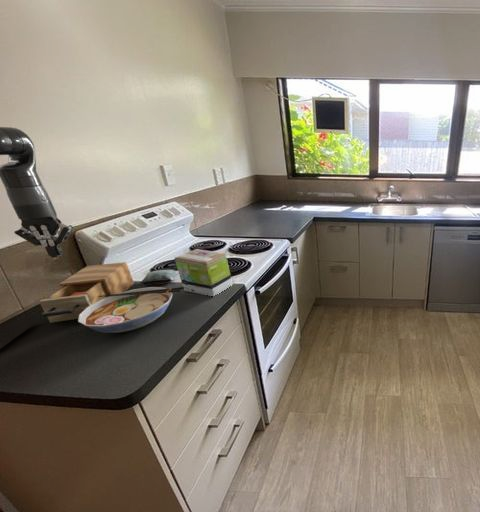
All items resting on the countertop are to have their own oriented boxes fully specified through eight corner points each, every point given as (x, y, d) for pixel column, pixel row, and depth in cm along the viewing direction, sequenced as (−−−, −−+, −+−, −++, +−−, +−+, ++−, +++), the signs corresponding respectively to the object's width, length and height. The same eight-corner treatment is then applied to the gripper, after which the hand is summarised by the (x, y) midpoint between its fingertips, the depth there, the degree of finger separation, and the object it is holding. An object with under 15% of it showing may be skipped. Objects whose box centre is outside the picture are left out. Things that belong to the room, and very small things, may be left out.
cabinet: (114, 302, 105) (104, 278, 101) (70, 307, 101) (59, 283, 97) (134, 283, 118) (126, 262, 115) (96, 287, 115) (87, 265, 111)
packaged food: (151, 278, 122) (148, 268, 120) (182, 275, 125) (179, 265, 123) (140, 288, 114) (136, 277, 112) (174, 285, 117) (170, 274, 115)
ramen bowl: (60, 351, 80) (47, 327, 77) (117, 307, 101) (109, 287, 98) (159, 342, 84) (150, 319, 81) (194, 302, 105) (188, 282, 102)
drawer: (86, 323, 91) (76, 302, 88) (39, 330, 88) (27, 308, 85) (116, 295, 107) (109, 276, 104) (78, 300, 104) (70, 281, 101)
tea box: (183, 292, 112) (172, 257, 106) (205, 280, 120) (196, 248, 115) (213, 297, 107) (204, 261, 102) (234, 285, 116) (226, 252, 111)
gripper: (68, 198, 89) (90, 250, 95) (12, 200, 85) (38, 254, 91) (51, 202, 82) (76, 258, 89) (-11, 205, 78) (19, 263, 85)
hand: (57, 256), depth 90 cm, fingers closed
